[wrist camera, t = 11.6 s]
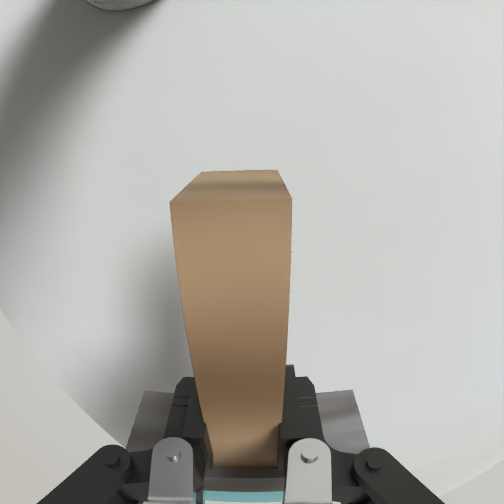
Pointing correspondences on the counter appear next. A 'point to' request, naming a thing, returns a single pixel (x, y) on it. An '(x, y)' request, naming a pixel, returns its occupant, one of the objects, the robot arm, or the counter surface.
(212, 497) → the u-shaped bracket
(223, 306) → the hammer
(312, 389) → the robot arm
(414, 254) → the counter surface
